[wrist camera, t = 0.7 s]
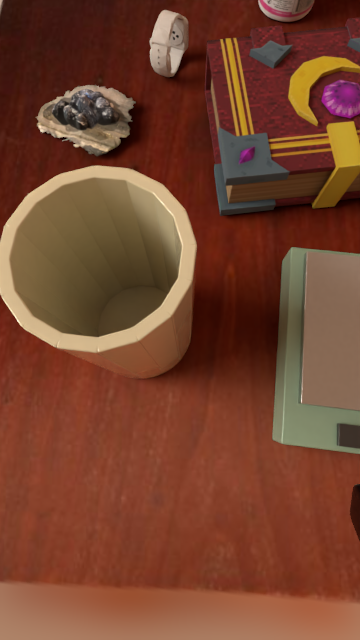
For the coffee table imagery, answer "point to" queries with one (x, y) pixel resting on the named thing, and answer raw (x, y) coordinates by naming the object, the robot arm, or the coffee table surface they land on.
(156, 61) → the smartwatch
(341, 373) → the scale
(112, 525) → the coffee table surface
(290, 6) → the pill bottle
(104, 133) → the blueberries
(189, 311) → the cup
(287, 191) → the decorative book
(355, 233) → the coffee table surface
